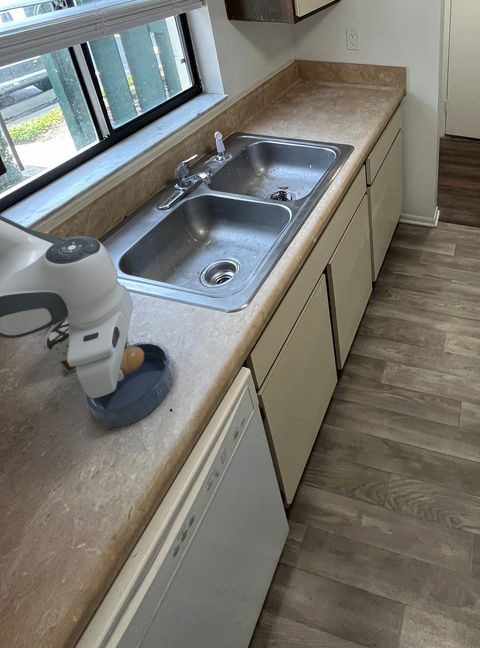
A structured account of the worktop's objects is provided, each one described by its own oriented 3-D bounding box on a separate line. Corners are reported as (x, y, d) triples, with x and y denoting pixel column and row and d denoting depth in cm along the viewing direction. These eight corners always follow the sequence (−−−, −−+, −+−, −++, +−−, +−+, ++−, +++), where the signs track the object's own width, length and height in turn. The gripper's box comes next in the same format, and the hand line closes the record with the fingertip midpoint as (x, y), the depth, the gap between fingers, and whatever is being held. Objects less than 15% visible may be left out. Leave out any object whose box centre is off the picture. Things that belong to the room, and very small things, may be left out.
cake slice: (117, 323, 103) (104, 292, 98) (125, 340, 99) (111, 309, 94) (54, 358, 95) (36, 327, 90) (59, 378, 91) (41, 346, 87)
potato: (100, 388, 82) (92, 372, 80) (105, 366, 86) (98, 350, 84) (145, 373, 85) (138, 358, 83) (148, 353, 89) (142, 338, 87)
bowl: (86, 440, 80) (77, 425, 78) (103, 370, 92) (96, 355, 90) (171, 410, 85) (165, 395, 83) (177, 347, 97) (171, 332, 94)
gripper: (94, 277, 87) (114, 325, 92) (63, 370, 69) (90, 422, 75) (130, 268, 89) (147, 316, 94) (109, 357, 71) (131, 408, 77)
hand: (122, 363), depth 85 cm, fingers closed on potato, 4 cm apart
